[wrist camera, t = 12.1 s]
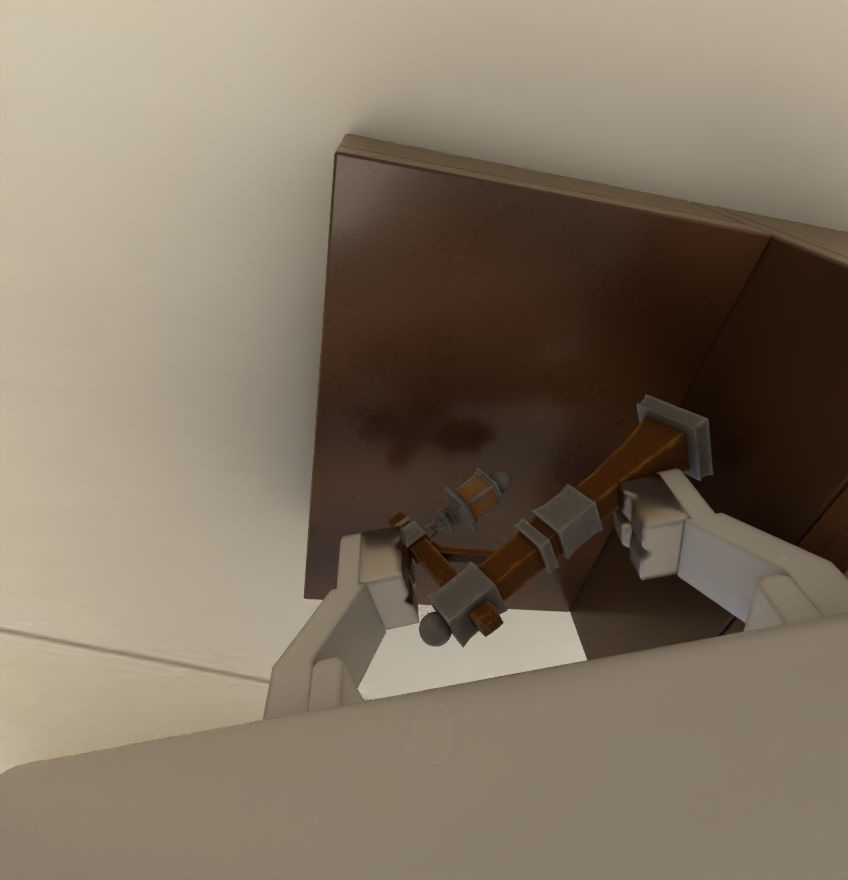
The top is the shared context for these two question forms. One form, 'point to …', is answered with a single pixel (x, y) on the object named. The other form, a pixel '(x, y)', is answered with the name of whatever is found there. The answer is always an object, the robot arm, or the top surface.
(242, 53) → the top surface
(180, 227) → the top surface
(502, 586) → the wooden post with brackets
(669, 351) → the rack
